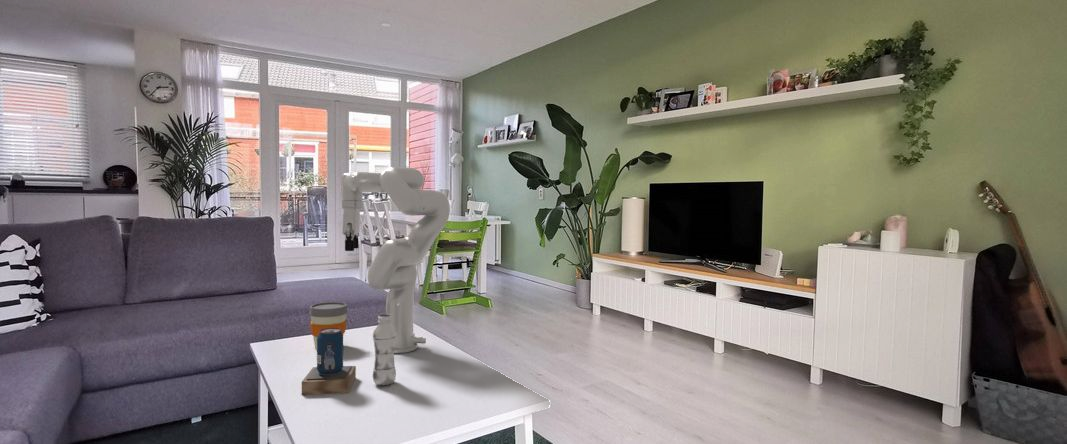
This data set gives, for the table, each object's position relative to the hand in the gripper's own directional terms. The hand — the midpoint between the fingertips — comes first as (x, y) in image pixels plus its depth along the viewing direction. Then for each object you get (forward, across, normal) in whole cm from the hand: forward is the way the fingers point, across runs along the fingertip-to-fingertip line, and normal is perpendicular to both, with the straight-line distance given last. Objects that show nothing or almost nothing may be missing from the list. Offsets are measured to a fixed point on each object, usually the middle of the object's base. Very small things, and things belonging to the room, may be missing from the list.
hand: (351, 249), depth 199 cm
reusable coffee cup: (+34, +16, -5) cm, 37 cm away
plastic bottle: (+34, +55, +19) cm, 67 cm away
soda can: (+30, +55, +4) cm, 62 cm away
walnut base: (+33, +55, +4) cm, 64 cm away
